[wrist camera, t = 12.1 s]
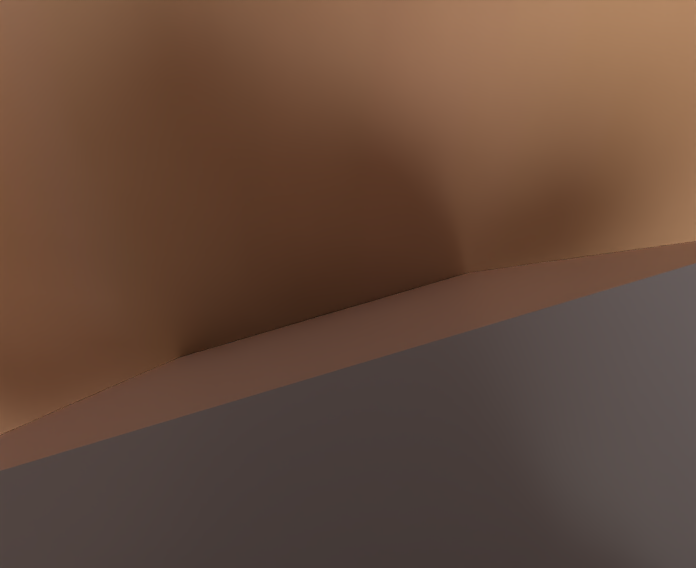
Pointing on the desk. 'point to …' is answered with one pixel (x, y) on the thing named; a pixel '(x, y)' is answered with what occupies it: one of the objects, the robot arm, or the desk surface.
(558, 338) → the matte gray cube
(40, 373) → the desk surface
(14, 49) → the desk surface
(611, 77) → the desk surface
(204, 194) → the desk surface
